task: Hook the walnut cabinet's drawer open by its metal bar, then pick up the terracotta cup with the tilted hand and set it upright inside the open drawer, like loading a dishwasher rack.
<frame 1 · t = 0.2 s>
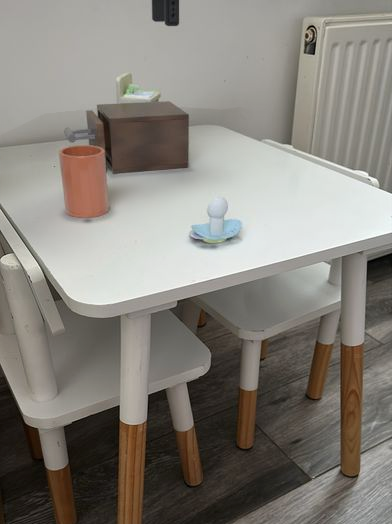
hand: (165, 23, 91), 24 cm above the table, tool pointing down, fingers open, 8 cm apart
cabinet: (143, 161, 110), on the table
pacifier: (213, 238, 79), on the table
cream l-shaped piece: (140, 142, 123), on the table
cup: (87, 210, 87), on the table
drawer: (115, 137, 105), point 5 cm above the table, slide at 1.0 cm
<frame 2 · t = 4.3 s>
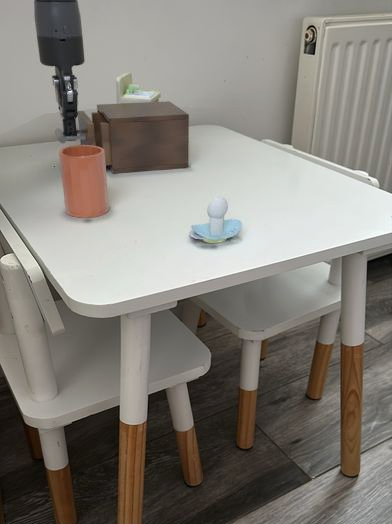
hand: (71, 139, 103), 5 cm above the table, tool pointing down, fingers closed
drawer: (107, 138, 105), point 5 cm above the table, slide at 2.7 cm, touching gripper
everything else where it was.
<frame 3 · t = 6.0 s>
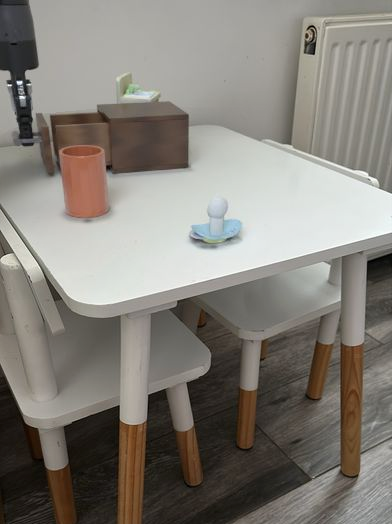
hand: (28, 145, 101), 4 cm above the table, tool pointing down, fingers closed
drawer: (65, 140, 103), point 5 cm above the table, slide at 10.5 cm, touching gripper
everything else where it was.
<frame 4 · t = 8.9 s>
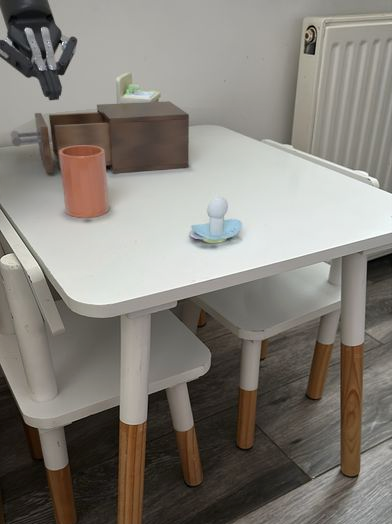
hand: (54, 96, 87), 15 cm above the table, tool tilted 45°, fingers closed
drawer: (64, 140, 103), point 5 cm above the table, slide at 10.6 cm
everything else where it was.
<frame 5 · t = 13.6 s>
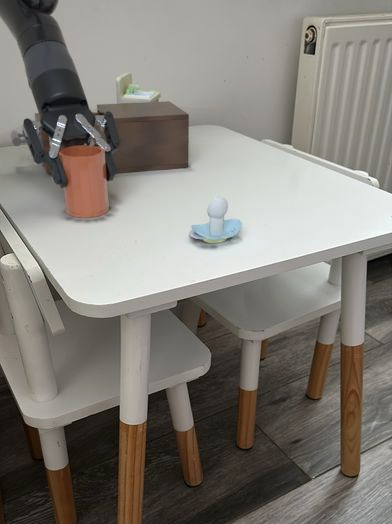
hand: (88, 181, 83), 5 cm above the table, tool tilted 45°, fingers closed on cup, 6 cm apart
cup: (87, 210, 87), on the table, touching gripper
everything else where it was.
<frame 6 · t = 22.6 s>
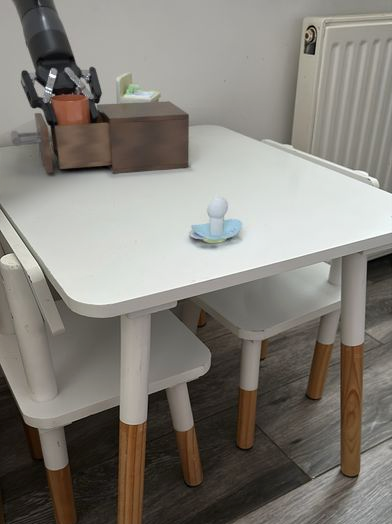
hand: (74, 123, 100), 8 cm above the table, tool tilted 45°, fingers closed on cup, 6 cm apart
cup: (74, 149, 104), point 3 cm above the table, touching gripper
everything else where it was.
when the fingers open (8 cm above the table, at t = 24.3 s): cup drops 1 cm, resting on drawer.
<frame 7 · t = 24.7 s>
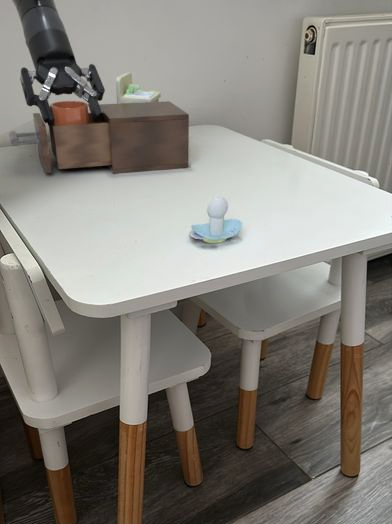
hand: (74, 121, 100), 8 cm above the table, tool tilted 45°, fingers open, 8 cm apart
cup: (74, 155, 105), point 2 cm above the table, touching drawer
drawer: (62, 141, 103), point 5 cm above the table, slide at 10.9 cm, touching cup, gripper
everything else where it was.
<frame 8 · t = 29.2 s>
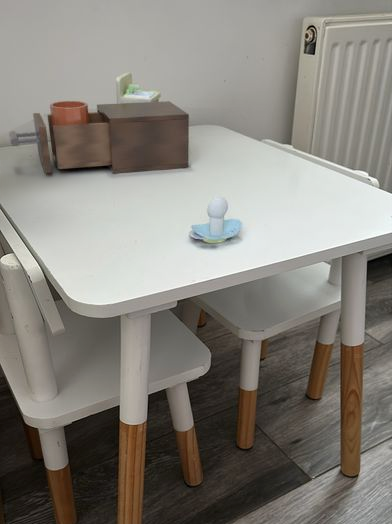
drawer: (62, 141, 103), point 5 cm above the table, slide at 10.9 cm, touching cup
everything else where it was.
at the end: drawer slide at 10.9 cm; cup 0.3 cm from the target spot in the drawer, point 2.0 cm above the cabinet's base; cup tilted 0° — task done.
